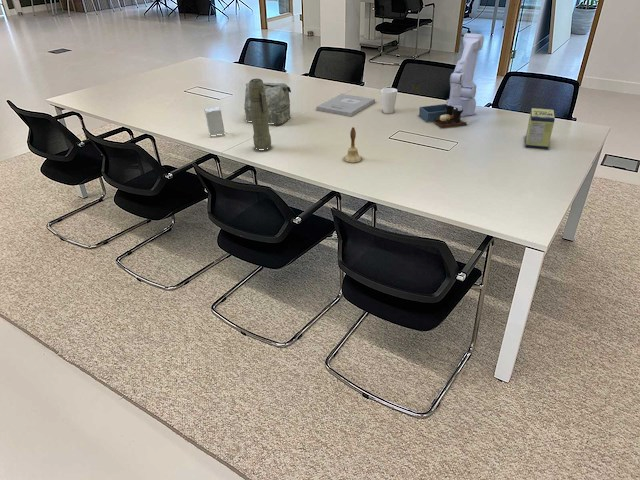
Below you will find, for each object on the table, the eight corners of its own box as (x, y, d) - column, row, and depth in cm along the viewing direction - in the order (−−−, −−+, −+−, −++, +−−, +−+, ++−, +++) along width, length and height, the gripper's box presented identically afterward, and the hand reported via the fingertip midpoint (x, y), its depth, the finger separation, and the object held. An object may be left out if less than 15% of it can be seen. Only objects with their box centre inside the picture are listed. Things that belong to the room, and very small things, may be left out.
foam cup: (395, 114, 290) (396, 92, 283) (379, 114, 292) (380, 92, 285) (396, 109, 298) (397, 88, 291) (381, 109, 300) (382, 87, 293)
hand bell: (344, 156, 242) (344, 124, 233) (361, 155, 242) (361, 124, 233) (344, 163, 235) (344, 131, 226) (361, 162, 235) (362, 130, 226)
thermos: (264, 153, 248) (256, 84, 229) (249, 148, 255) (241, 80, 236) (277, 148, 253) (271, 79, 234) (262, 143, 260) (255, 75, 241)
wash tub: (445, 112, 290) (445, 103, 287) (454, 118, 281) (455, 109, 278) (418, 115, 287) (419, 106, 284) (427, 122, 278) (428, 113, 275)
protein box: (546, 138, 252) (553, 108, 244) (548, 149, 240) (555, 119, 231) (525, 136, 255) (531, 107, 247) (525, 147, 243) (531, 117, 234)
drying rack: (458, 119, 279) (459, 111, 277) (466, 125, 272) (467, 117, 269) (434, 122, 277) (435, 114, 274) (441, 128, 269) (442, 120, 267)
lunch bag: (295, 117, 293) (293, 80, 281) (282, 127, 279) (279, 88, 267) (257, 113, 301) (253, 76, 289) (242, 122, 287) (238, 85, 275)
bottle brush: (458, 117, 275) (459, 111, 274) (461, 119, 273) (462, 113, 271) (438, 120, 273) (439, 114, 271) (441, 122, 270) (441, 116, 269)
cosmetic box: (223, 132, 275) (219, 106, 267) (225, 135, 271) (221, 109, 263) (208, 134, 273) (204, 108, 265) (210, 138, 268) (205, 111, 260)
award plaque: (316, 110, 302) (316, 106, 301) (341, 96, 323) (341, 93, 322) (350, 116, 290) (350, 112, 289) (374, 102, 311) (374, 98, 310)
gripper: (442, 92, 271) (440, 116, 278) (454, 99, 259) (451, 124, 266) (454, 90, 272) (451, 114, 280) (466, 98, 260) (463, 123, 268)
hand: (452, 119), depth 273 cm, fingers open, 7 cm apart
